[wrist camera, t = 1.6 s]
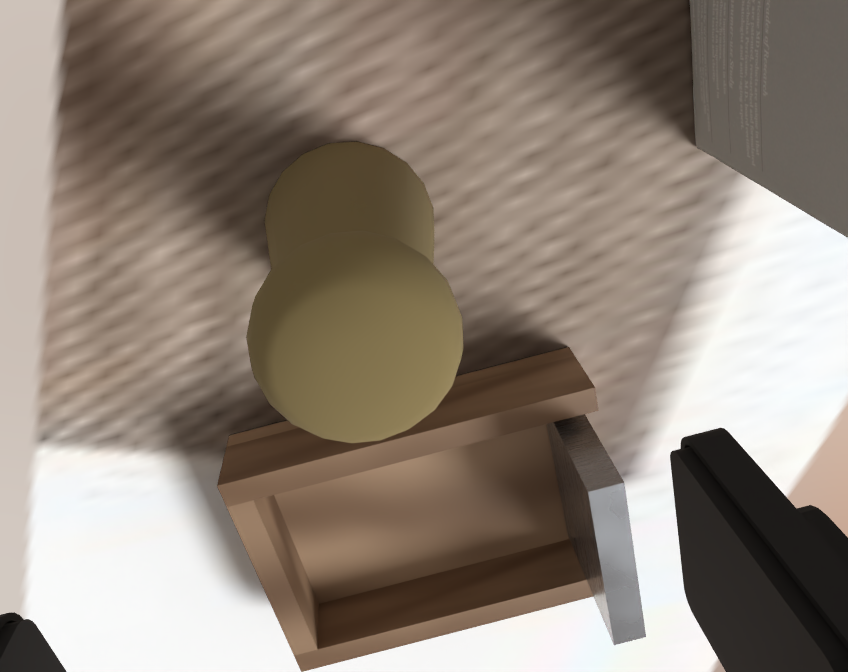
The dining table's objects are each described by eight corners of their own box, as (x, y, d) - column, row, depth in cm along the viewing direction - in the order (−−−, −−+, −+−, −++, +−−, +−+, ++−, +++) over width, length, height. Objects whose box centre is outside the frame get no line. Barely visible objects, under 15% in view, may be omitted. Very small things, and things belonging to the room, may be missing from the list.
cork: (241, 271, 26) (183, 440, 17) (299, 112, 24) (273, 196, 14) (395, 327, 28) (426, 511, 18) (462, 182, 26) (539, 301, 16)
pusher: (541, 398, 29) (588, 492, 24) (571, 390, 29) (624, 482, 24) (567, 534, 32) (614, 644, 27) (594, 527, 32) (645, 636, 27)
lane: (229, 435, 29) (217, 485, 26) (568, 346, 29) (595, 387, 26) (304, 611, 34) (301, 671, 31) (599, 534, 34) (625, 587, 31)
